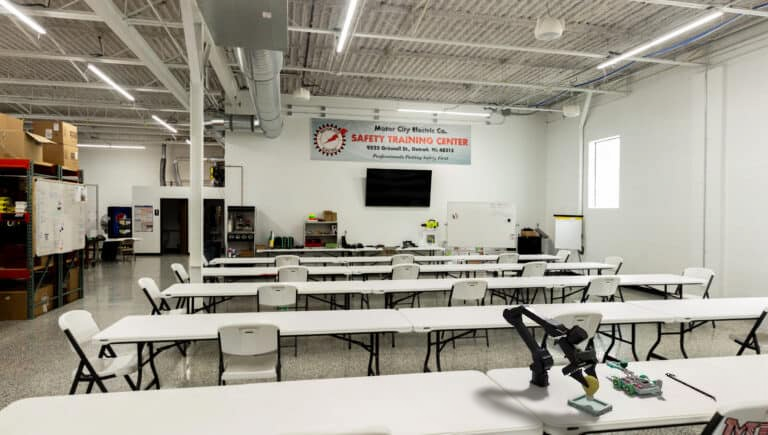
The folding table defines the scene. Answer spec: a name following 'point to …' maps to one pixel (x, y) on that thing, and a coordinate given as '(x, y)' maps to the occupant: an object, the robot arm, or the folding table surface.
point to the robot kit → (634, 380)
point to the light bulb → (591, 387)
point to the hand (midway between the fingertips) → (593, 385)
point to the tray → (590, 405)
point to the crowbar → (690, 386)
